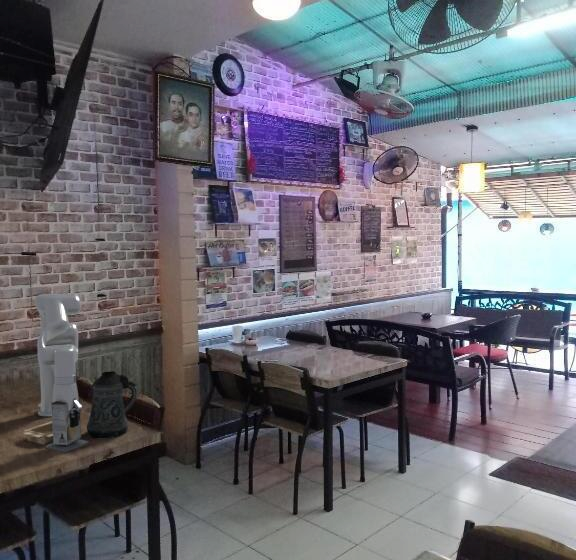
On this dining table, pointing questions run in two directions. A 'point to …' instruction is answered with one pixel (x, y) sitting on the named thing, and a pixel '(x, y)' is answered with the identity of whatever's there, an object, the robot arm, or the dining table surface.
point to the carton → (40, 433)
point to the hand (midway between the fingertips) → (66, 424)
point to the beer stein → (110, 406)
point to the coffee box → (64, 424)
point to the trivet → (68, 447)
